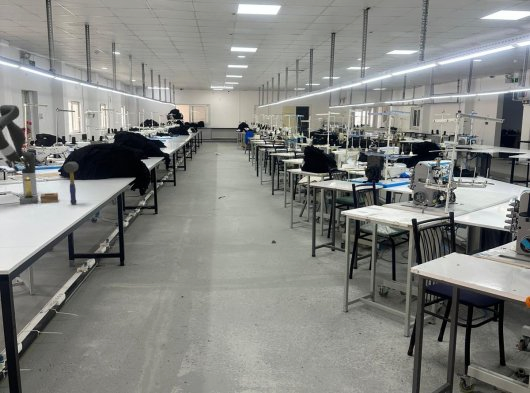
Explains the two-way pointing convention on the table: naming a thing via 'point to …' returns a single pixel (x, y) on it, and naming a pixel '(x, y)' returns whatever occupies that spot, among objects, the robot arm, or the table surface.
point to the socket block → (29, 200)
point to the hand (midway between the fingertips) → (23, 170)
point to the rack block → (49, 198)
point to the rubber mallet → (71, 179)
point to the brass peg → (28, 187)
